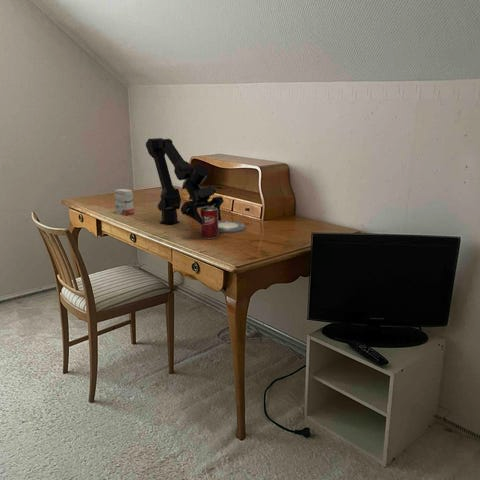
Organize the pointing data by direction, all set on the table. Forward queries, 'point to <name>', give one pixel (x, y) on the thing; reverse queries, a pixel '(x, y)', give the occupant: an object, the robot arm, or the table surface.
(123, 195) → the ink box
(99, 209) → the table surface
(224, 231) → the dial plate
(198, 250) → the table surface
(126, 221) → the table surface
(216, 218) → the soda can
